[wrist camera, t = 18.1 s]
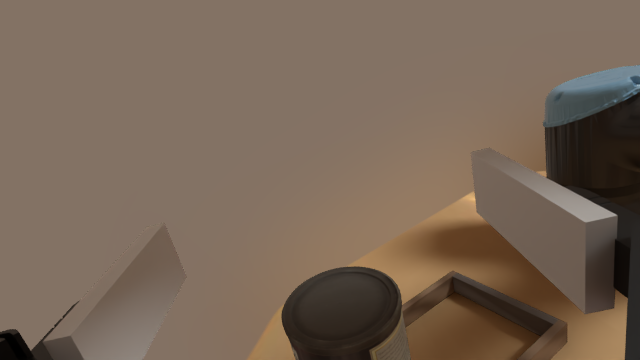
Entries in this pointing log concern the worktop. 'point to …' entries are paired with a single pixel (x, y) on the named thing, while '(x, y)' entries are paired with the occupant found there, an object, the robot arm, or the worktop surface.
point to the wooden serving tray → (512, 309)
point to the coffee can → (346, 317)
